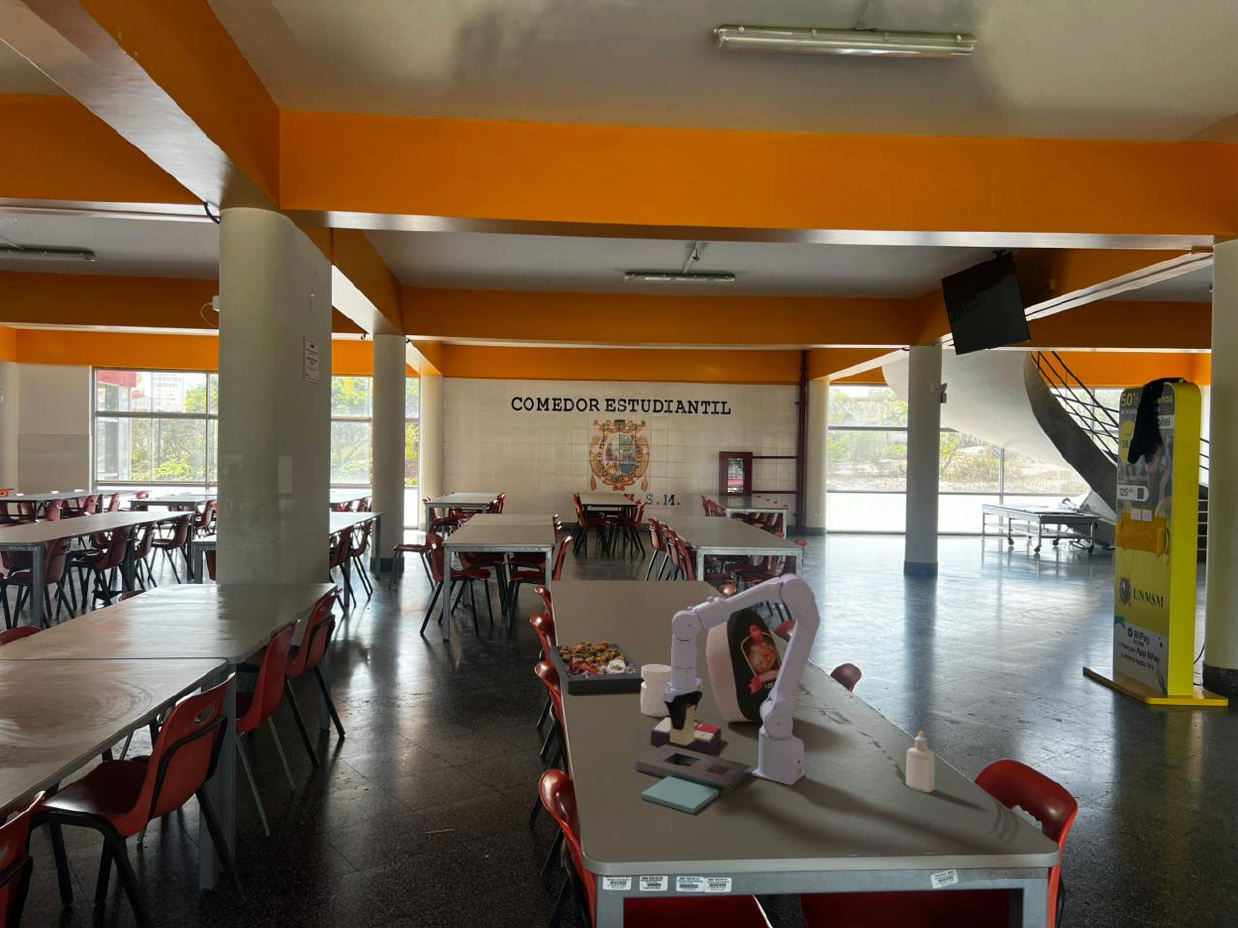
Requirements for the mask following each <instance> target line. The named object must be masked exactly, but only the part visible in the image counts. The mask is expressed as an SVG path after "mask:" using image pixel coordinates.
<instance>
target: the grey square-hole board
mask: <svg viewBox="0 0 1238 928" xmlns="http://www.w3.org/2000/svg"><path fill="white" fill-rule="evenodd" d="M676 762H677V763H680V764H685V765H688V767H685V766H682V765H678V764H674V763H676ZM752 768H753V766H752V765H750V764H745V763H742V762H737V761H733V760H729V759H726V758H722V757H717V756H713V755H710V754H706V753H700V752H694V751H690V750H686V749H682V748H678V747H674V746H670V745H666V744H665V745H663V746H659V747H658V748H657V749H655V750H653V751H651V752H648V753H647V754H645V755H644V756H642V757H640V758H638V759H636V760H635V770H636V771H639V772H643V773H646V774H649V775H653V776H657V777H660V778H663V779H665V778H666V777H668V776H669V777H673V778H677V779H680V780H684V781H687V782H691V783H695V784H698V785H702V786H706V787H709V788H713V789H716V790H719V794H721V795H727V794H728V793H730V792H731V791H732V790H733V789H734V788H736V787H737V786H739V785H740V784H741V783H743V782H745V780H747V779H748V778H750V777H751V776H752V775H751V773H752V772H753V771H752V770H753V769H752Z"/></svg>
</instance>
